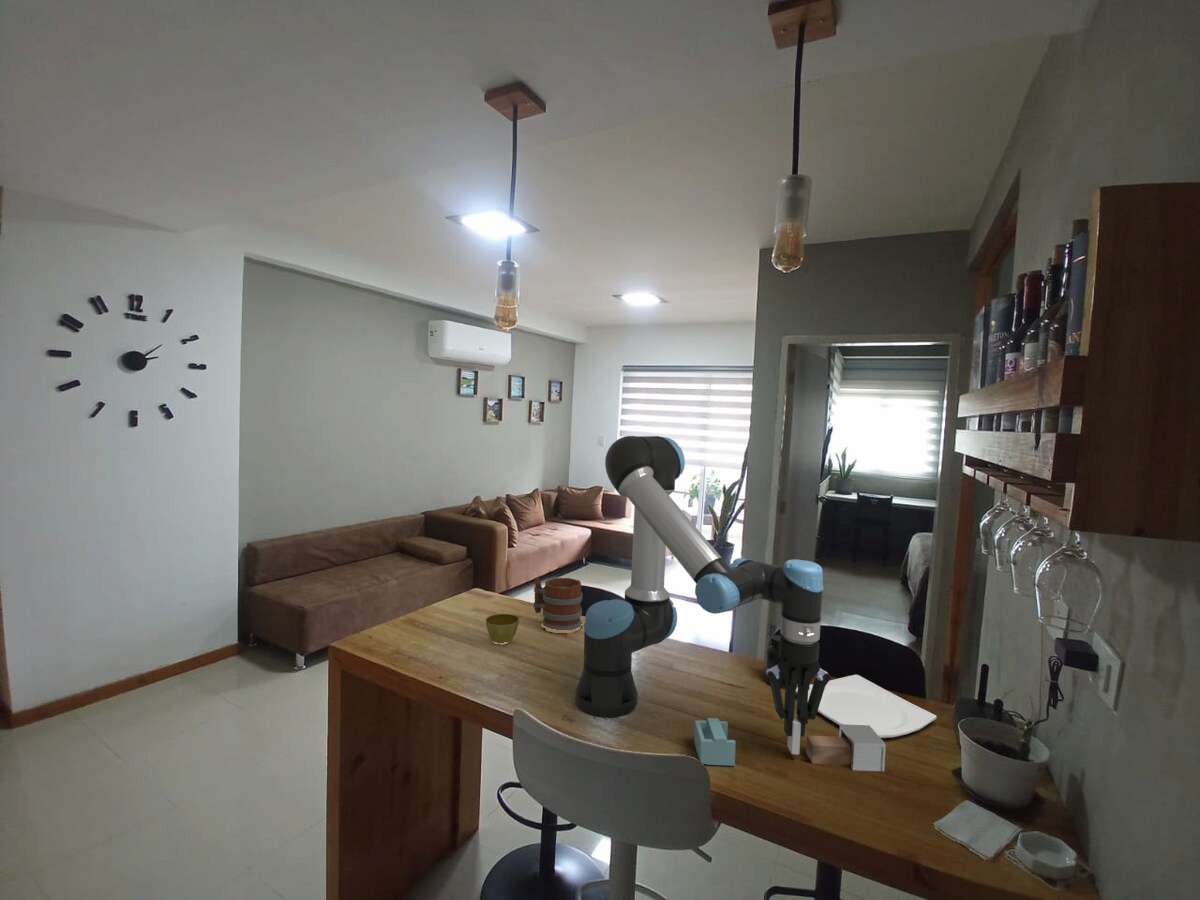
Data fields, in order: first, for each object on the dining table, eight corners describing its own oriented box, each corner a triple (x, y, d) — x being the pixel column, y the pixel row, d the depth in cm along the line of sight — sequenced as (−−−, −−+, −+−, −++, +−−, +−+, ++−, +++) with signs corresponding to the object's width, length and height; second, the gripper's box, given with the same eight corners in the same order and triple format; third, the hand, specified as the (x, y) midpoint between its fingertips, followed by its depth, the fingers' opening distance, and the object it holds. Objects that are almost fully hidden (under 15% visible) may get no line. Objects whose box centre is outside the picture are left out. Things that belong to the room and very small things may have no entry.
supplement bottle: (793, 690, 138) (795, 645, 138) (766, 687, 139) (768, 642, 139) (789, 678, 145) (791, 635, 144) (763, 675, 146) (765, 632, 146)
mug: (565, 638, 168) (566, 591, 167) (520, 624, 178) (521, 579, 178) (591, 625, 179) (592, 581, 178) (547, 612, 190) (548, 571, 189)
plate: (869, 751, 113) (869, 739, 113) (786, 696, 135) (786, 686, 135) (945, 729, 123) (945, 717, 122) (855, 681, 145) (856, 671, 145)
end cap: (852, 770, 106) (854, 742, 106) (838, 750, 112) (839, 724, 112) (884, 771, 106) (885, 743, 105) (867, 751, 112) (869, 725, 112)
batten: (812, 764, 108) (813, 745, 107) (805, 754, 111) (806, 735, 111) (872, 767, 107) (873, 748, 107) (863, 756, 111) (864, 737, 111)
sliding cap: (700, 764, 106) (701, 738, 105) (694, 741, 113) (695, 717, 113) (734, 765, 105) (735, 739, 105) (726, 743, 113) (727, 718, 113)
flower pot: (502, 633, 170) (503, 611, 170) (525, 641, 164) (526, 618, 164) (478, 642, 162) (478, 619, 161) (501, 651, 156) (501, 627, 156)
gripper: (773, 644, 105) (767, 760, 106) (839, 646, 104) (832, 763, 106) (762, 629, 112) (756, 738, 113) (824, 631, 112) (817, 740, 113)
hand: (793, 750), depth 109 cm, fingers closed
